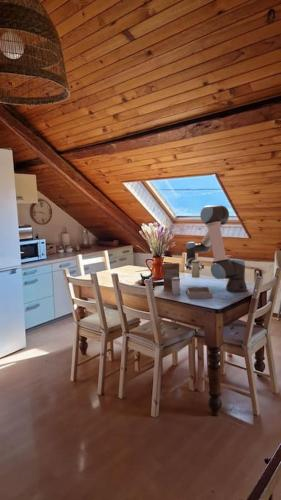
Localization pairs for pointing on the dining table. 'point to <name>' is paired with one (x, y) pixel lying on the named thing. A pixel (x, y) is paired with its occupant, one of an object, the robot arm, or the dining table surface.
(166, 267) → the panel
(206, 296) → the tray
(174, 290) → the gray canister
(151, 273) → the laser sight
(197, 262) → the sage canister
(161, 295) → the dining table surface
